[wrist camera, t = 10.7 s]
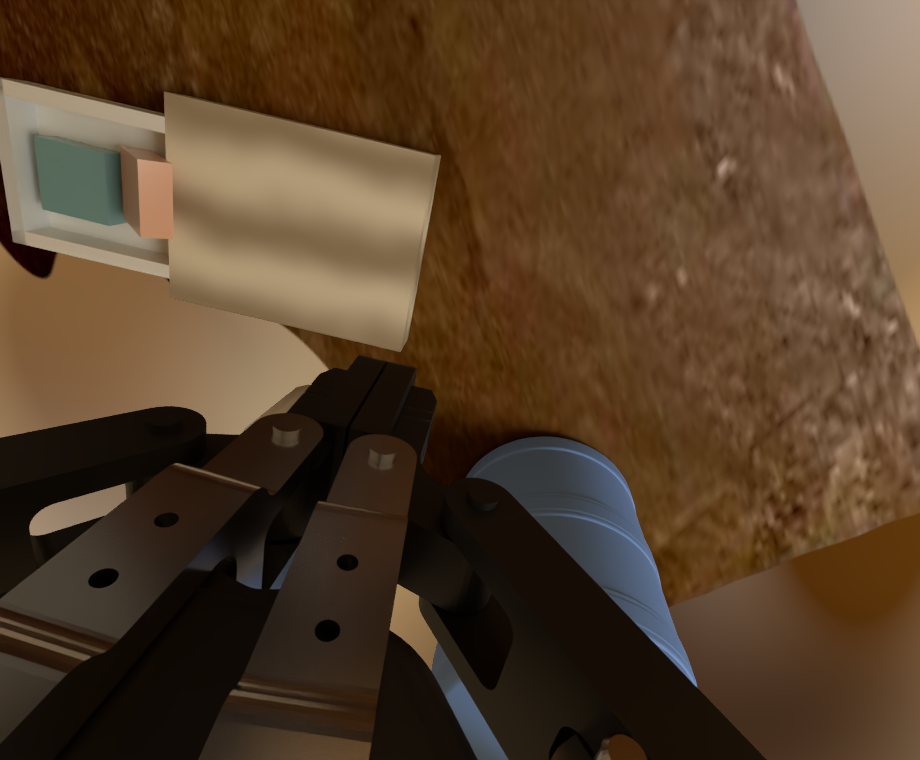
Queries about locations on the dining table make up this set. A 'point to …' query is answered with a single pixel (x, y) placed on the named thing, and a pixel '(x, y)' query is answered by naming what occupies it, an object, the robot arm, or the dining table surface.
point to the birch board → (296, 221)
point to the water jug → (573, 549)
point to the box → (88, 121)
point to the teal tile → (80, 180)
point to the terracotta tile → (147, 192)
